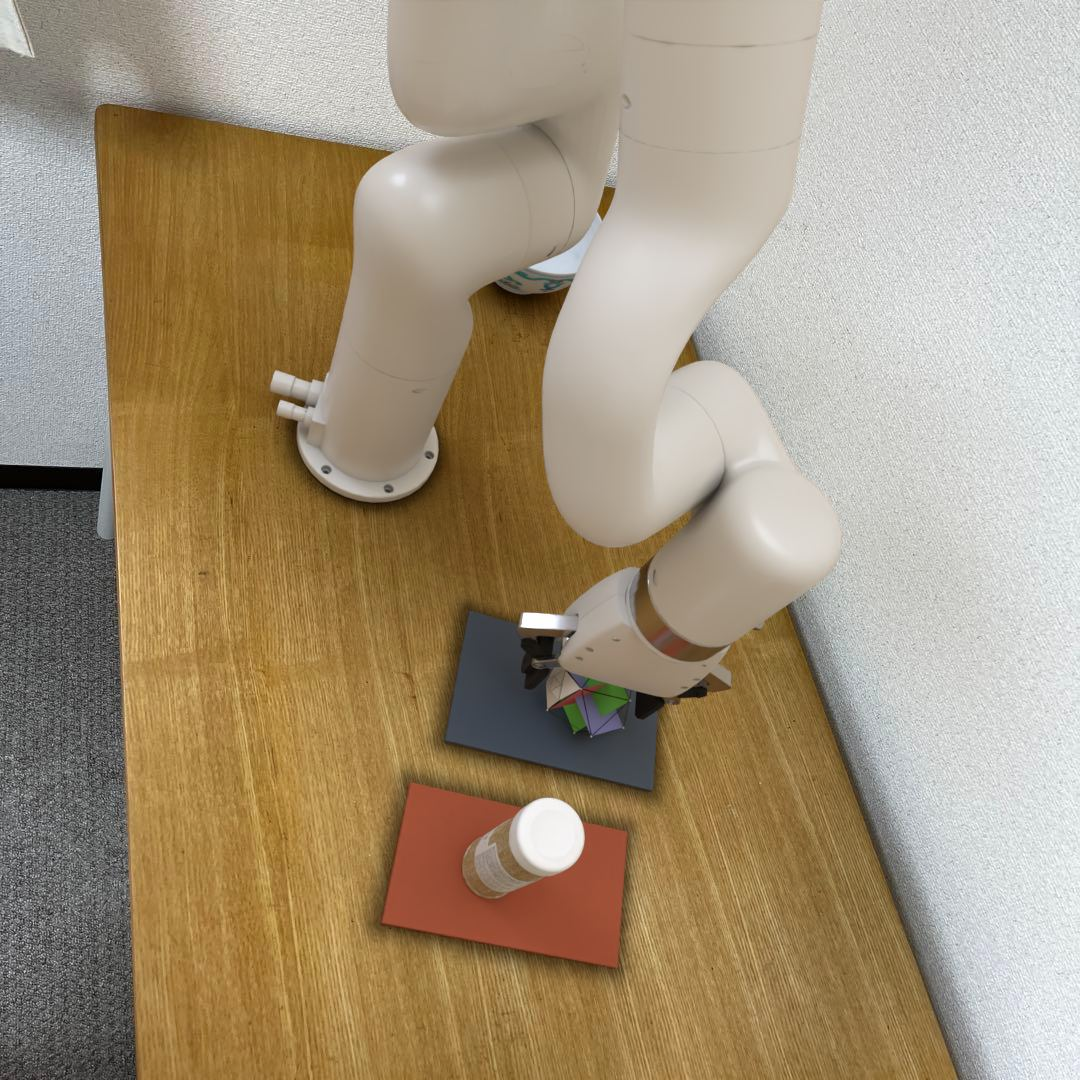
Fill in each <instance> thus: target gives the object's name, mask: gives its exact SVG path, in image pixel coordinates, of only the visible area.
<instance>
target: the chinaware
mask: <svg viewBox="0 0 1080 1080" xmlns="http://www.w3.org/2000/svg"><path fill="white" fill-rule="evenodd" d="M602 221H603V219H602V217H601V216H600V214H599V211H597V213H596V216H595V218H594V221H593V223H592V225H591V227H590V228H589V230H588V232H587V233H586V235H585V236H584V237H583V238H582V239H581V241H580V242H579V243H578V244H576V245H575V246H574V247H572V248H571V249H569V250H568V251H566V252H564V253H562V254H560V255H558V256H556V257H553V258H551V259H548V260H546V261H543V262H541V263H538V264H535V265H533V266H530V267H528V268H525V269H522V270H520V271H517V272H515V273H513V274H511V275H509V276H507V277H505V278H502V279H499V280H497V281H494V283H496V284H497V286H499V287H501V288H502V289H503V290H506V291H508V292H510V293H513V294H519V295H531V294H548V293H553V292H557V291H560V290H563V289H565V288H568V287H571V284H572V282H573V280H574V277H575V275H576V272H577V270H578V268H579V265H580V263H581V261H582V259H583V256H584V254H585V252H586V250H587V248H588V246H589V244H590V242H591V240H592V238H593V237H594V235H595V233H596V231H597V229H598V228H599V226H600V224H601V222H602Z"/></svg>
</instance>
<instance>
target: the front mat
mask: <svg viewBox="0 0 1080 1080" xmlns="http://www.w3.org/2000/svg"><path fill="white" fill-rule="evenodd" d="M522 808H523V807H522V806H517V805H513V804H509V803H504V802H499V801H495V800H492V799H487V798H482V797H478V796H473V795H469V794H465V793H460V792H456V791H453V790H452V791H451V790H447V789H442V788H438V787H434V786H430V785H426V784H422V783H417V782H410V783H409V784H408V789H407V795H406V798H405V803H404V809H403V812H402V813H403V814H402V819H401V822H400V829H399V834H398V838H397V843H396V848H395V852H394V856H393V863H392V866H391V871H390V877H389V882H388V887H387V891H386V896H385V901H384V906H383V911H382V916H381V920H380V924H381V925H385V926H390V927H394V928H400V929H406V930H410V931H416V932H422V933H426V934H431V935H437V936H443V937H447V938H453V939H458V940H463V941H468V942H473V943H478V944H484V945H488V946H489V945H490V946H495V947H500V948H504V949H505V948H506V949H510V950H516V951H521V952H526V953H532V954H536V955H542V956H546V957H553V958H557V959H563V960H567V961H568V960H569V961H573V962H577V963H578V962H579V963H583V964H584V963H585V964H590V965H594V966H600V967H604V968H611V969H617V968H618V966H619V955H620V954H619V953H620V952H619V951H620V941H621V940H620V939H621V927H622V926H621V925H622V913H623V912H622V911H623V898H624V884H625V874H626V873H625V871H626V860H627V859H626V857H627V845H628V844H627V843H628V831H626V830H621V829H617V828H612V827H609V826H604V825H601V824H600V825H599V824H595V823H590V822H587V821H582V820H581V822H582V825H583V828H584V836H585V840H584V847H583V850H582V853H581V855H580V857H579V858H578V860H577V861H576V862H575V863H574V864H573V865H572V866H571V867H570V868H568V869H566V870H564V871H563V872H560V873H558V874H556V875H552V876H544V877H543V878H541V879H540V880H537V881H535V882H533V883H530V884H528V885H526V886H523V887H521V888H519V889H516V890H514V891H511V892H509V893H507V894H506V895H504V896H502V897H500V898H496V899H487V898H483V897H480V896H478V895H476V894H475V893H474V892H473V891H472V890H470V888H469V887H468V885H467V884H466V882H465V879H464V877H463V873H462V862H463V857H464V854H465V852H466V850H467V848H468V847H469V845H470V844H471V843H472V842H474V841H475V840H476V839H478V838H480V837H482V836H484V835H486V834H487V833H488V832H490V831H491V830H493V829H495V828H496V827H498V826H499V825H501V824H502V823H504V822H506V821H507V820H509V819H512V818H513V817H515V816H516V814H517V813H518V812H519V811H520V810H521V809H522Z"/></svg>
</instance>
